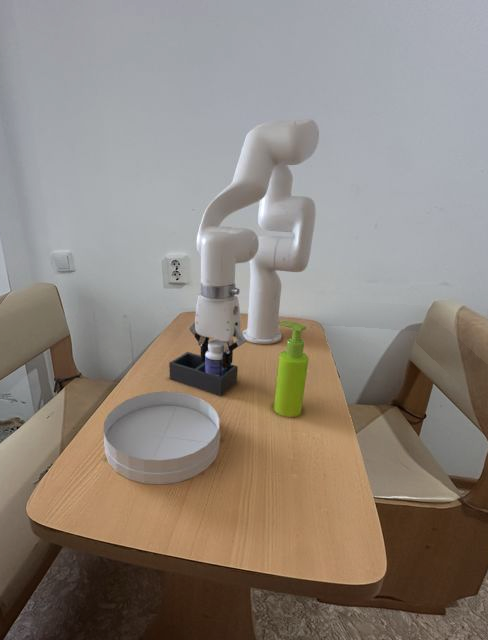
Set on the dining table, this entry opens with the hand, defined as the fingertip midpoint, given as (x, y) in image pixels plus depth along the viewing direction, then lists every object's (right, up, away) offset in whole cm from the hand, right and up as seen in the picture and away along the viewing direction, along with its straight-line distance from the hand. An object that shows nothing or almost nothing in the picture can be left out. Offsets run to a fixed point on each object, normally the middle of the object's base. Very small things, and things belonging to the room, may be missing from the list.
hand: (216, 362), depth 91 cm
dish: (-11, -15, -18) cm, 26 cm away
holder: (-3, -5, +4) cm, 7 cm away
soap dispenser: (+15, -10, -8) cm, 20 cm away
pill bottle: (0, -4, +2) cm, 4 cm away
